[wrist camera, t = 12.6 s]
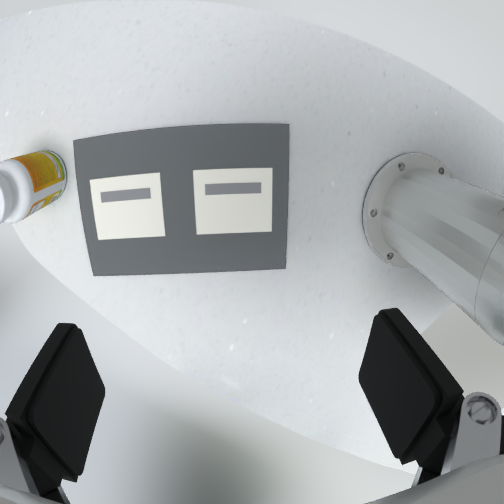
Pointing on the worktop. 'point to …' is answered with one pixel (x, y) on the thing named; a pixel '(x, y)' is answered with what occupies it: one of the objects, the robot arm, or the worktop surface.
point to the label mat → (185, 199)
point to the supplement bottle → (29, 184)
